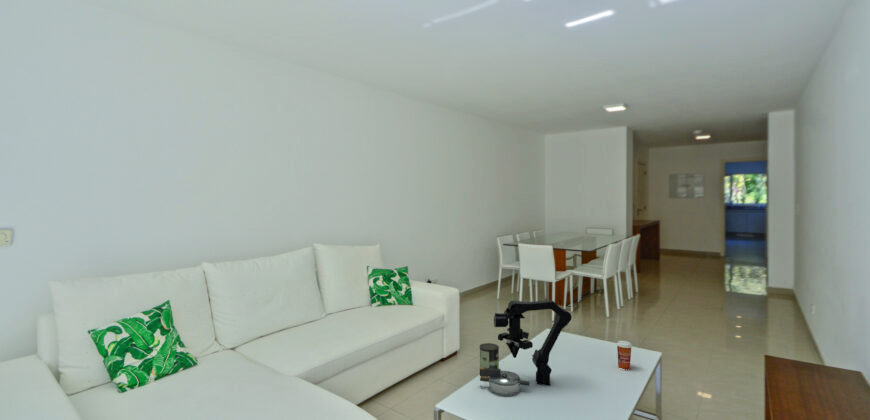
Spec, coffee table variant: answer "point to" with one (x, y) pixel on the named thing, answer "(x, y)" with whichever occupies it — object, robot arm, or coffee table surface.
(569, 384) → the coffee table surface
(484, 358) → the coffee can
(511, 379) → the lid
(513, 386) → the pot
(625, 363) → the paper cup
